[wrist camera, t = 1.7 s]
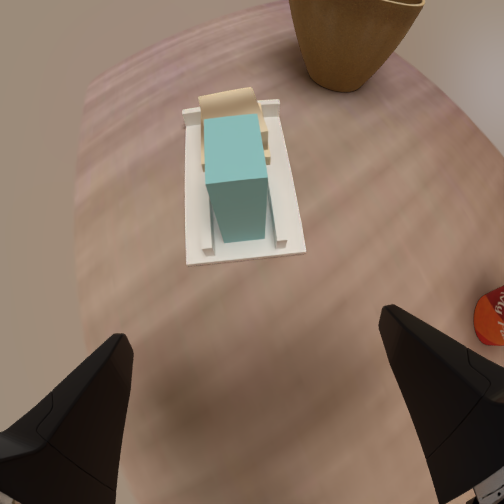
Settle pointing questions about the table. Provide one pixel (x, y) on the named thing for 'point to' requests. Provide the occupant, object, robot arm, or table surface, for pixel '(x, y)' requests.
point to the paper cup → (490, 318)
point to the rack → (277, 211)
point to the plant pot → (350, 37)
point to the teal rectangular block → (236, 176)
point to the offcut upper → (233, 107)
